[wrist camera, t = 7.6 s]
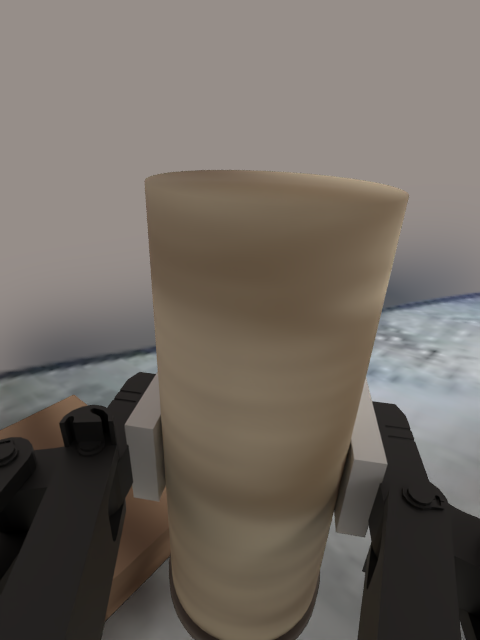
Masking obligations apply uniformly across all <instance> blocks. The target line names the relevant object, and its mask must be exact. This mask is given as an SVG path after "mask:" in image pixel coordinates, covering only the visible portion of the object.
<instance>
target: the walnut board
mask: <svg viewBox="0 0 480 640" xmlns="http://www.w3.org/2000/svg"><path fill="white" fill-rule="evenodd" d="M82 406H88V405H86V404H85V403H84V402H83V401H81V400H80V399H79V398H78V397H76V396H75V395H72V396H70V397H68V398H66V399H64V400H62V401H60V402H58V403H56V404H53V405H51V406H49V407H47V408H45V409H43V410H41V411H39V412H37V413H35V414H33V415H31V416H29V417H27V418H25V419H23V420H21V421H19V422H17V423H14V424H12V425H10V426H8V427H6V428H4V429H2V430H0V440H1V439H5V438H9V437H22V438H25V439H27V440H29V441H30V443H31V444H32V446H33V449H34V450H40V449H49V448H58V447H63V446H64V442H63V438H62V434H61V429H60V425H59V422H60V421H61V420H62V418H63V417H64V416H65V415H66V414H68V413H69V412H71V411H72V410H75V409H77V408H80V407H82ZM125 500H126V514H125V519H124V525H123V530H122V535H121V540H120V545H119V550H118V555H117V560H116V565H115V571H114V576H113V581H112V586H111V591H110V596H109V601H108V606H107V612H106V617H105V621H106V620H107V619H108V618H109V617H110V616H111V615H112V614H113V613H114V612H115V611H116V610H117V609H118V608H119V607H120V606H121V605H122V604H123V603H124V602H125V601H126V600H127V599H128V598H129V597H130V596H131V595H132V594H133V593H134V592H135V591H136V590H137V589H138V588H139V587H140V586H141V585H142V584H143V583H144V582H145V581H146V580H147V579H148V578H149V577H150V576H151V575H152V574H153V573H154V572H155V571H156V570H157V569H158V568H159V567H160V565H161V564H162V563H163V562H164V561H165V560H166V559H167V558H168V557H169V556H170V552H171V550H170V536H169V522H168V507H167V493H166V486H165V488H164V491H163V493H162V496H161V498H160V501H159V502H158V501H152V500H146V499H141V498H135V497H134V495H133V487H132V486H131V488H130V490H129V492H128V494H127V496H126V498H125Z"/></svg>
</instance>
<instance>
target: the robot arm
mask: <svg viewBox="0 0 480 640" xmlns="http://www.w3.org/2000/svg"><path fill="white" fill-rule="evenodd" d="M59 425H60V429H61V434H62V438H63V442H64V446H63V447H58V448H49V449H40V450H34V449H33V446H32V444H31V443H30V441H29V440H27V439H25V438H22V437H9V438H5V439H1V440H0V640H101V637H102V632H103V627H104V622H105V617H106V612H107V606H108V601H109V596H110V591H111V586H112V581H113V576H114V571H115V565H116V560H117V555H118V550H119V545H120V540H121V535H122V530H123V525H124V519H125V514H126V500H125V498H126V496H127V494H128V492H129V490H130V488H131V486H132V487H133V495H134V497H135V498H141V499H146V500H152V501H158V502H159V501H160V498H161V496H162V493H163V491H164V488H165V486H166V479H165V465H164V451H163V436H162V422H161V408H160V394H159V380H158V372H157V374H151V373H143V372H139V373H137V374H136V375H134V376H133V377H131V378H130V379H128V380H127V381H126V383H125V384H124V385H123V387H122V388H121V390H120V392H118V394H117V395H116V396H115V398H114V400H113V401H112V402H111V403H110V405H109V406H108V407H107V408H106V407H104V406H99V405H89V406H82V407H80V408H77V409H75V410H72V411H71V412H69V413H68V414H66V415H65V416H64V417H63V418H62V420H61V421H60V422H59ZM334 514H335V527H336V532H337V533H342V534H348V535H354V536H360V537H365V535H366V532H367V529H368V526H369V528H370V535H371V541H372V542H371V545H370V548H369V552H368V555H367V558H366V561H365V564H364V567H363V570H362V571H363V572H365V581H364V590H363V598H362V606H361V615H360V623H359V631H358V639H357V640H461V631H460V622H461V625H462V629H463V632H464V635H465V638H466V640H480V519H479V518H477V517H475V516H472V515H470V514H467V513H465V512H463V511H461V510H459V509H457V508H455V507H453V506H452V505H450V504H449V503H448V501H447V499H446V497H445V496H444V495H443V493H442V492H441V491H440V490H439V489H438V488H437V487H436V486H434V485H433V484H432V483H431V482H429V479H428V477H427V474H426V471H425V468H424V465H423V463H422V460H421V457H420V454H419V451H418V449H417V446H416V443H415V442H414V437H413V435H412V432H411V431H410V426H409V423H408V421H407V418H406V416H405V415H404V413H403V412H402V411H401V410H400V409H399V408H398V407H397V406H396V405H395V404H388V403H381V402H373V401H372V400H371V396H370V391H369V387H368V383H367V379H366V378H365V383H364V387H363V391H362V395H361V399H360V404H359V408H358V412H357V416H356V420H355V424H354V429H353V433H352V437H351V441H350V445H349V450H348V454H347V458H346V462H345V466H344V471H343V475H342V479H341V483H340V487H339V492H338V496H337V500H336V504H335V508H334Z"/></svg>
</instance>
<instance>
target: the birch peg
mask: <svg viewBox="0 0 480 640" xmlns="http://www.w3.org/2000/svg"><path fill="white" fill-rule="evenodd" d="M145 194H146V208H147V223H148V237H149V251H150V265H151V280H152V294H153V309H154V321H155V337H156V351H157V365H158V380H159V394H160V408H161V422H162V436H163V451H164V465H165V479H166V493H167V507H168V522H169V536H170V550H171V552H170V560H169V579H170V589H171V597H172V600H173V604H174V608H175V610H176V613H177V615H178V617H179V619H180V621H181V623H182V624H183V626H184V628H185V629H186V630H187V631H188V633H189V634H190V635H191V636H192V637H193V638H194V639H195V640H296V639H297V638H298V636H299V635H300V634H301V633H302V631H303V630H304V628H305V627H306V625H307V624H308V621H309V619H310V617H311V615H312V612H313V609H314V605H315V602H316V598H317V594H318V588H319V582H320V567H321V563H322V559H323V554H324V550H325V546H326V542H327V538H328V534H329V529H330V525H331V521H332V517H333V513H334V508H335V504H336V500H337V496H338V492H339V487H340V483H341V479H342V475H343V471H344V466H345V462H346V458H347V454H348V450H349V445H350V441H351V437H352V433H353V429H354V424H355V420H356V416H357V412H358V408H359V404H360V399H361V395H362V391H363V387H364V383H365V378H366V374H367V370H368V366H369V362H370V357H371V353H372V349H373V345H374V341H375V336H376V332H377V328H378V324H379V320H380V315H381V311H382V307H383V303H384V299H385V295H386V290H387V286H388V282H389V278H390V273H391V269H392V265H393V260H394V257H395V252H396V248H397V244H398V240H399V236H400V231H401V227H402V223H403V219H404V215H405V210H406V206H407V202H408V198H409V194H408V193H407V192H405V191H404V190H401V189H399V188H396V187H392V186H389V185H384V184H380V183H374V182H369V181H364V180H357V179H351V178H343V177H335V176H326V175H316V174H304V173H291V172H275V171H274V172H273V171H250V170H199V171H181V172H170V173H164V174H157V175H153V176H150V177H148V178H146V179H145Z"/></svg>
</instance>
